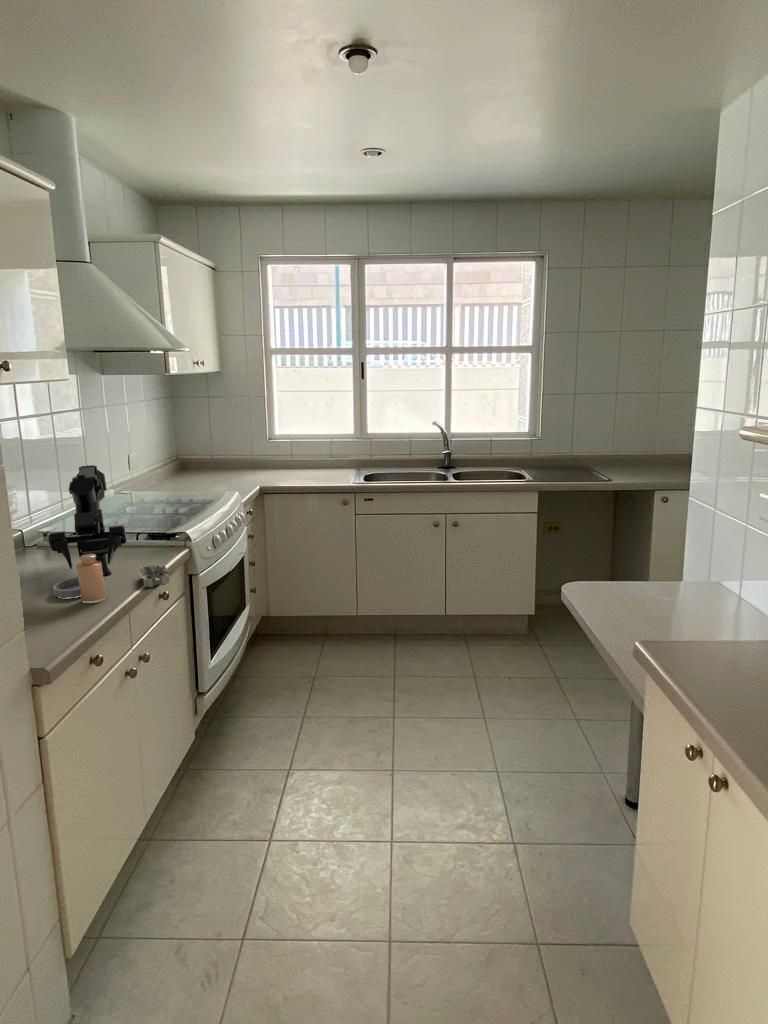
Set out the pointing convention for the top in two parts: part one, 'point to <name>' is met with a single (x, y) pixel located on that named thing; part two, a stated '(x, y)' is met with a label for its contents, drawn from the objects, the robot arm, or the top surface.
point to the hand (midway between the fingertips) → (90, 565)
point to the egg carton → (154, 575)
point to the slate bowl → (67, 588)
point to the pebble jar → (90, 578)
